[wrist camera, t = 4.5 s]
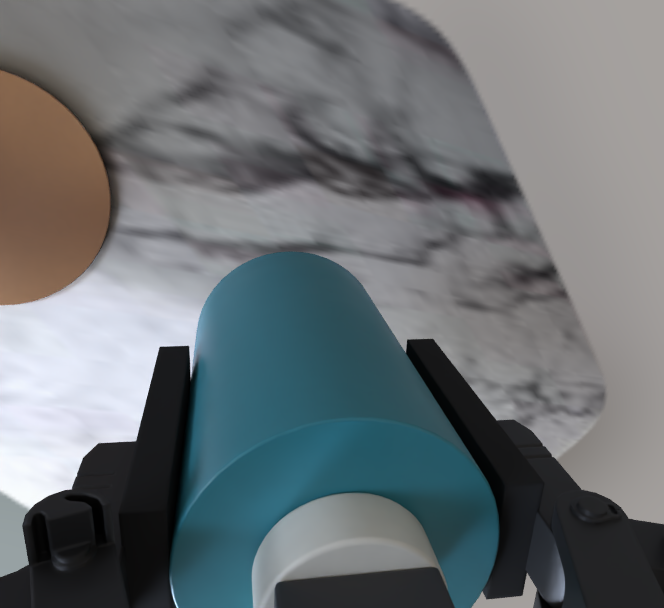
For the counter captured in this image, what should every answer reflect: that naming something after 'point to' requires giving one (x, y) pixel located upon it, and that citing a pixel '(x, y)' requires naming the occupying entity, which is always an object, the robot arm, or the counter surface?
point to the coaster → (46, 193)
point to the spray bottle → (319, 457)
